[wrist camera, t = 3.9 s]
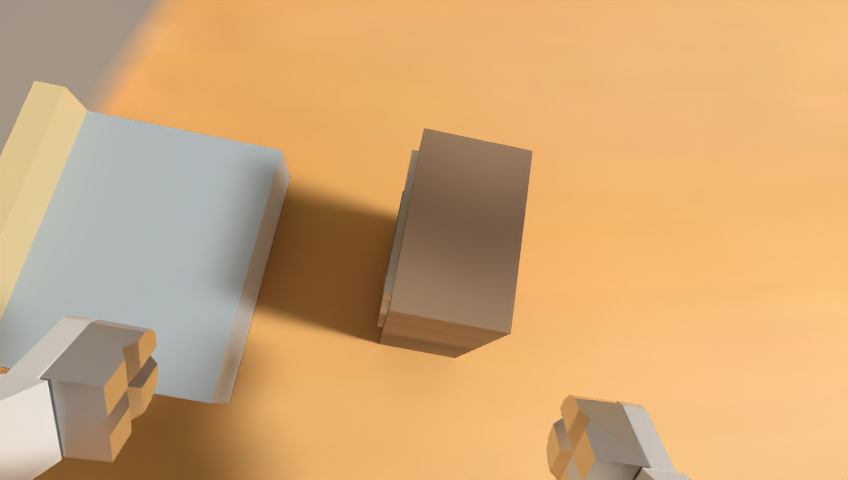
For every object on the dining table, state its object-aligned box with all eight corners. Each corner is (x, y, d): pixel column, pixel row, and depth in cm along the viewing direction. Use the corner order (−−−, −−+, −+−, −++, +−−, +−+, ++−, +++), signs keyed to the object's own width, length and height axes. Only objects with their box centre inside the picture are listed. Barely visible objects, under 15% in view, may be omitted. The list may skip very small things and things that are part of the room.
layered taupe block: (455, 357, 20) (510, 333, 13) (372, 342, 20) (379, 308, 13) (473, 236, 22) (532, 150, 14) (396, 221, 22) (415, 126, 14)
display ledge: (229, 402, 19) (196, 403, 15) (1, 362, 19) (-91, 353, 15) (290, 177, 22) (275, 130, 18) (93, 137, 21) (34, 80, 18)
